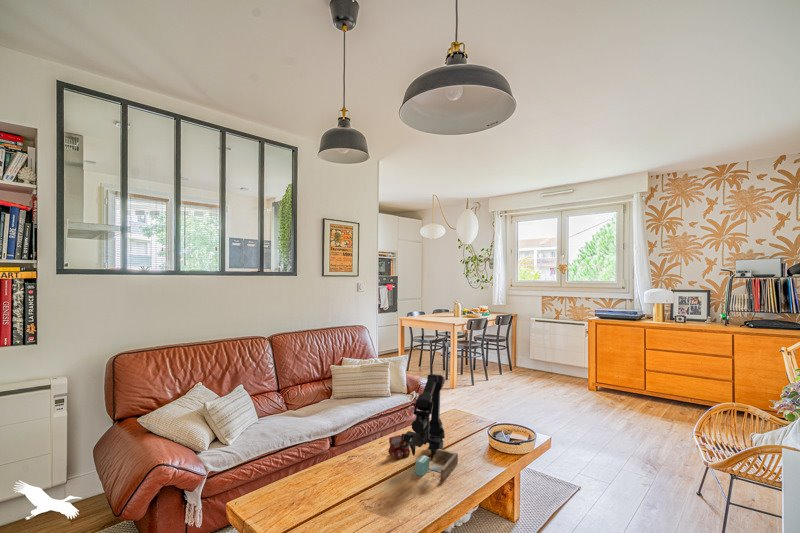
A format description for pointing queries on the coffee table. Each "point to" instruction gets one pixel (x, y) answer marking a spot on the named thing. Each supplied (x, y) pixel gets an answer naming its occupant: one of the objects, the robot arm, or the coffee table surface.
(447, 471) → the l-shaped wooden block
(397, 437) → the toy fire truck
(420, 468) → the teal and white block
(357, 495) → the coffee table surface
